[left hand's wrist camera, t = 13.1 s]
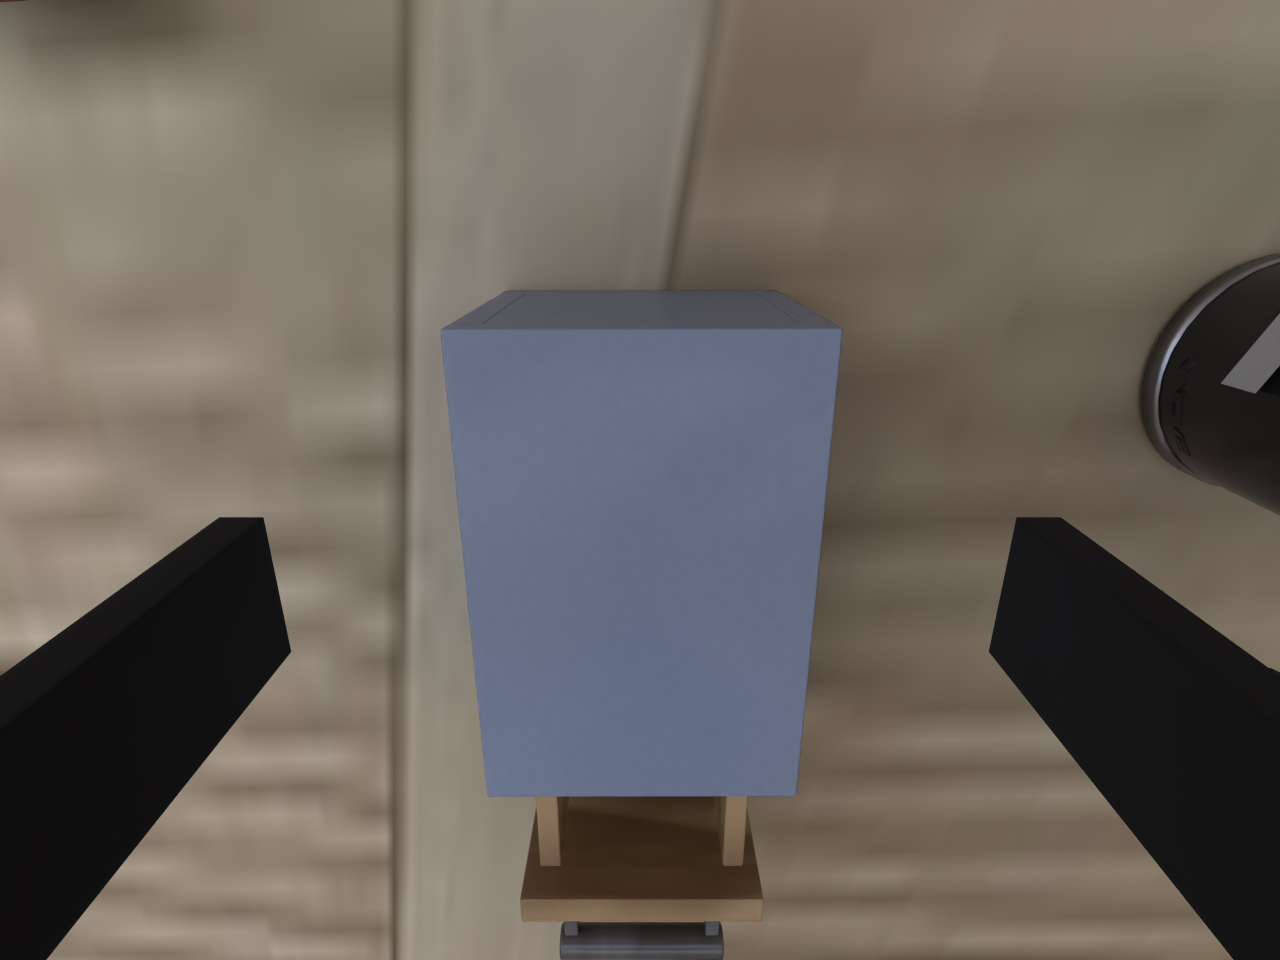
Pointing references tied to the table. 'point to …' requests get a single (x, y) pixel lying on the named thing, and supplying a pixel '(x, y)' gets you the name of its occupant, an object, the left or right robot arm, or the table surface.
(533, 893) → the drawer
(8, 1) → the seashell
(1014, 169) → the table surface
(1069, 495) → the table surface
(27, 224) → the table surface
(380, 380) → the table surface
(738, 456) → the cabinet
